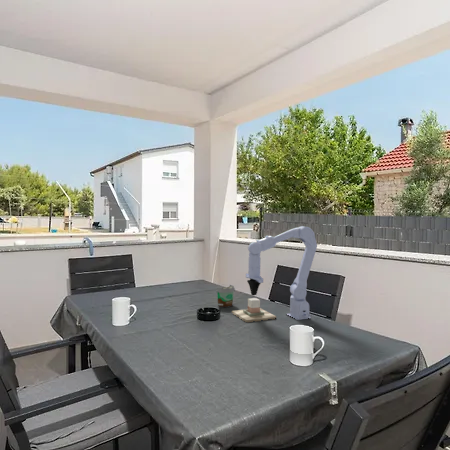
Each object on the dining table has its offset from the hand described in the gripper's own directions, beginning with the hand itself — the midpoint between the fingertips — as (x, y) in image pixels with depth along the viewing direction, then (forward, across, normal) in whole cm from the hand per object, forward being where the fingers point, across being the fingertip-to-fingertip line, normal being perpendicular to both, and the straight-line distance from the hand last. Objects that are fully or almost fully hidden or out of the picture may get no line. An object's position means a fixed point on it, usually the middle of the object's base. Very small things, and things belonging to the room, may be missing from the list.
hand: (253, 294), depth 175 cm
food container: (+11, -22, -4) cm, 25 cm away
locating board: (+10, 0, 0) cm, 10 cm away
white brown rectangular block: (+9, 0, 0) cm, 9 cm away
